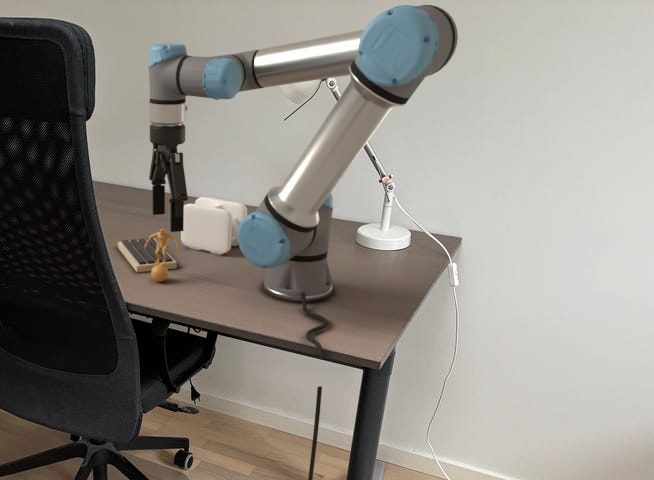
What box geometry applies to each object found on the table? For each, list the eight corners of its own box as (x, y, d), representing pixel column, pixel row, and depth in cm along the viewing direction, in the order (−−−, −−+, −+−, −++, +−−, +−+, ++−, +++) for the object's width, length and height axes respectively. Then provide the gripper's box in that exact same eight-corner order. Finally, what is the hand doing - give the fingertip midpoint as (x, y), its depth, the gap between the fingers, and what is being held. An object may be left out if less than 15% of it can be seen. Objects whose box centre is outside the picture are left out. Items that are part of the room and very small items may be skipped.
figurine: (140, 282, 171) (139, 231, 166) (148, 273, 176) (147, 224, 171) (174, 286, 169) (174, 235, 164) (181, 277, 174) (182, 227, 169)
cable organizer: (177, 246, 194) (177, 203, 189) (198, 236, 202) (199, 194, 196) (227, 257, 187) (229, 212, 181) (247, 246, 195) (249, 202, 189)
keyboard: (176, 268, 179) (176, 259, 178) (136, 272, 177) (136, 263, 176) (154, 244, 195) (154, 236, 194) (117, 247, 193) (117, 239, 192)
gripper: (204, 133, 145) (202, 237, 155) (167, 113, 167) (167, 206, 176) (168, 135, 143) (168, 240, 153) (134, 115, 165) (136, 208, 174)
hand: (167, 222), depth 165 cm, fingers open, 13 cm apart
